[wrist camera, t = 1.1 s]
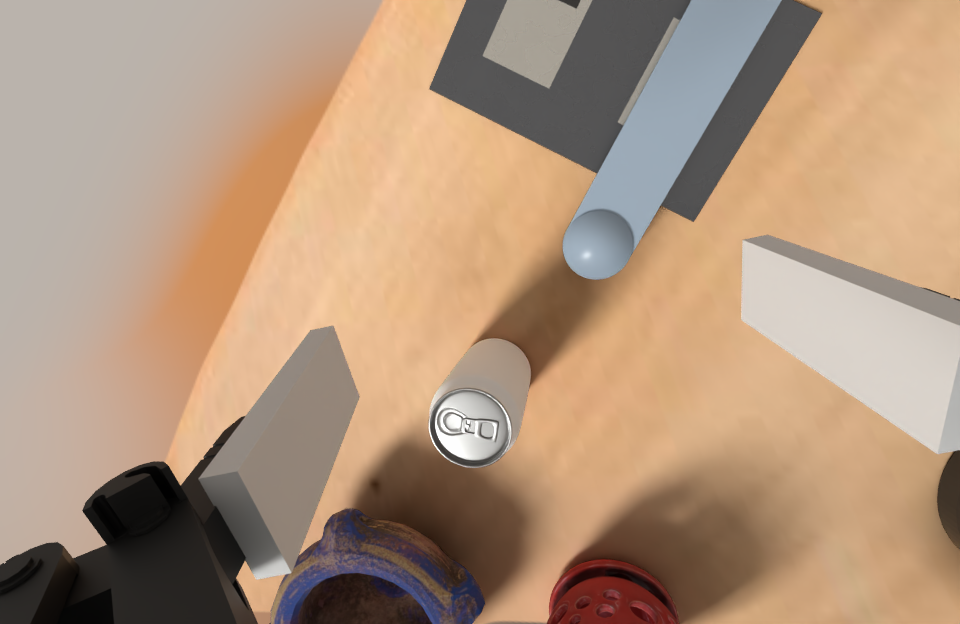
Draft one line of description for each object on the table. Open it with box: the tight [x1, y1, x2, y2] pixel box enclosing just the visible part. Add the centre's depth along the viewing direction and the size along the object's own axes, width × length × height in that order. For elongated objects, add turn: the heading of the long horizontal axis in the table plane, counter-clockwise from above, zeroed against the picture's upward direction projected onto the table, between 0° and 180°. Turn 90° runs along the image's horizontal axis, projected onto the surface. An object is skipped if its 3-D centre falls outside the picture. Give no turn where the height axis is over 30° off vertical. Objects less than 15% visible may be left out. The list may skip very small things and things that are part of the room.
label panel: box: [429, 0, 822, 222], centre depth 34 cm, size 24×16×1 cm, turn 63°
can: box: [429, 338, 531, 468], centre depth 35 cm, size 6×6×12 cm
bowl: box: [270, 509, 485, 624], centre depth 42 cm, size 18×18×10 cm
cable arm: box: [563, 0, 782, 280], centre depth 32 cm, size 5×22×3 cm, turn 153°
